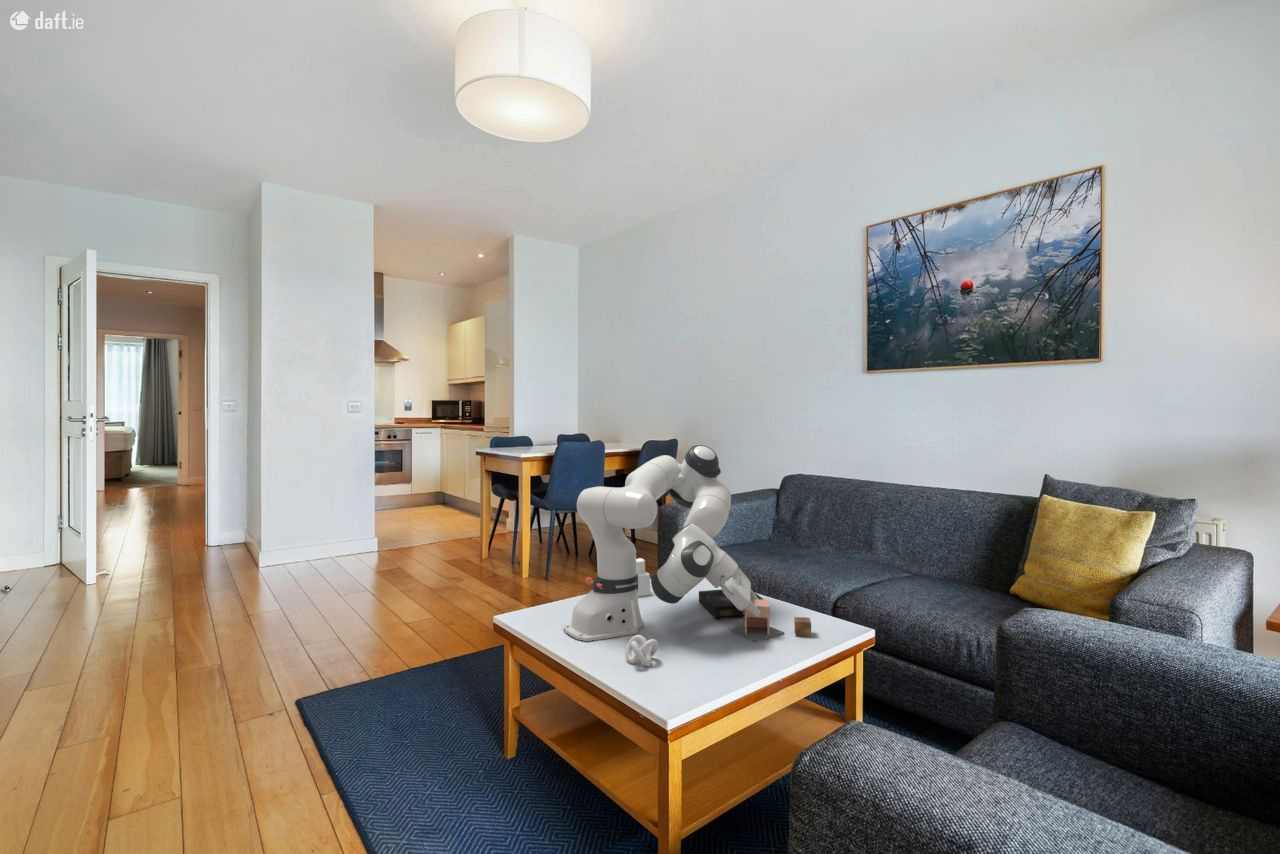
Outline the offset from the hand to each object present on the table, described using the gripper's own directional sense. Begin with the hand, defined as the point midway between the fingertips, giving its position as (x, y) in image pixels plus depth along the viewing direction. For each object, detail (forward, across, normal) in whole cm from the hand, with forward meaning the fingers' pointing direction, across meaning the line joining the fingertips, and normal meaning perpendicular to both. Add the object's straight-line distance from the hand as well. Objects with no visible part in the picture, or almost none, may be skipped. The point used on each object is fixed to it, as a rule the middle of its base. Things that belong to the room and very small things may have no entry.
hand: (759, 609), depth 165 cm
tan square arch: (+4, 0, +4) cm, 6 cm away
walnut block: (+13, 0, -4) cm, 13 cm away
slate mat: (+4, 0, +5) cm, 6 cm away
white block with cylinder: (-24, +30, +33) cm, 51 cm away
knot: (-15, -24, +24) cm, 37 cm away
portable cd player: (0, +19, +10) cm, 22 cm away
